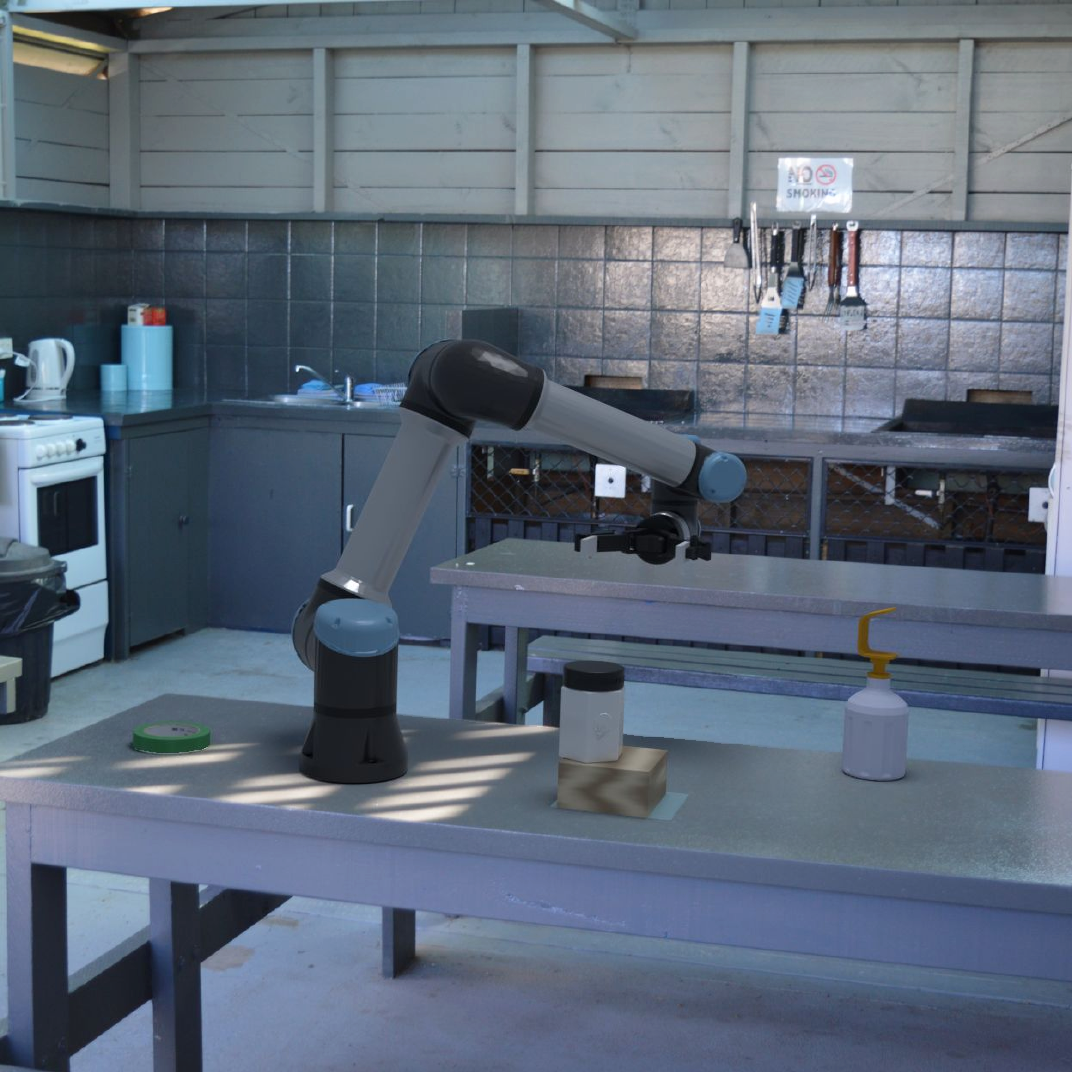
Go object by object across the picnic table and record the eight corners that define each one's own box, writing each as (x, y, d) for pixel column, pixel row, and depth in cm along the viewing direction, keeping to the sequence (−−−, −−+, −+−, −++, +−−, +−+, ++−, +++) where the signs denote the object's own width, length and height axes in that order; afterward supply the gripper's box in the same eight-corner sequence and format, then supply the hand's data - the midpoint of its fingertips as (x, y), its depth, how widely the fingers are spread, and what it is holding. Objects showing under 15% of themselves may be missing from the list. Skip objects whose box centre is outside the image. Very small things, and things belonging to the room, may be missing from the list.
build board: (549, 809, 193) (549, 806, 193) (575, 784, 205) (575, 781, 205) (670, 823, 189) (670, 820, 188) (689, 797, 201) (689, 794, 201)
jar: (569, 765, 191) (572, 673, 190) (548, 749, 198) (551, 661, 197) (633, 761, 194) (637, 671, 192) (610, 746, 201) (614, 659, 200)
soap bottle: (895, 785, 210) (905, 614, 208) (833, 775, 215) (842, 607, 212) (912, 771, 218) (922, 606, 216) (852, 762, 223) (861, 600, 220)
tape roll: (225, 744, 222) (225, 727, 222) (177, 760, 212) (178, 742, 212) (166, 734, 227) (166, 717, 226) (117, 750, 217) (117, 732, 216)
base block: (557, 807, 193) (558, 762, 192) (580, 784, 204) (581, 741, 203) (647, 818, 189) (649, 772, 189) (665, 793, 201) (667, 750, 200)
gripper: (740, 567, 224) (717, 585, 204) (581, 557, 231) (543, 573, 211) (742, 518, 223) (720, 531, 203) (582, 509, 230) (545, 520, 210)
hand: (630, 552), depth 207 cm, fingers open, 13 cm apart
